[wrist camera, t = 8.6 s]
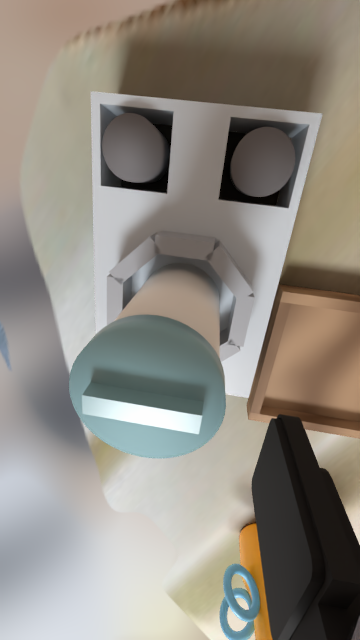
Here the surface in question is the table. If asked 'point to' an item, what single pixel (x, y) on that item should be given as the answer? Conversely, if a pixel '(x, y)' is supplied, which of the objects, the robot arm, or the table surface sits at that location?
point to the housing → (197, 219)
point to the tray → (310, 361)
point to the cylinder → (252, 596)
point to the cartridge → (156, 368)
